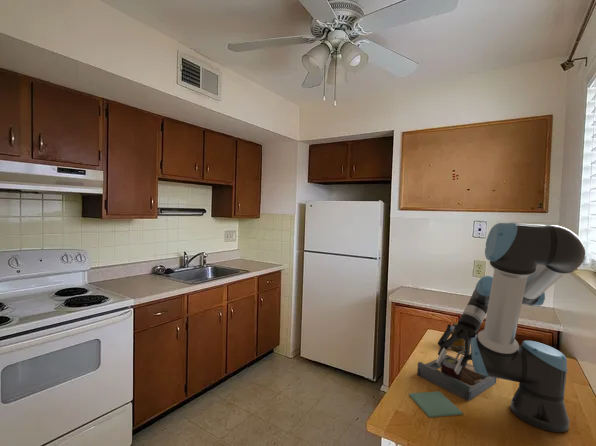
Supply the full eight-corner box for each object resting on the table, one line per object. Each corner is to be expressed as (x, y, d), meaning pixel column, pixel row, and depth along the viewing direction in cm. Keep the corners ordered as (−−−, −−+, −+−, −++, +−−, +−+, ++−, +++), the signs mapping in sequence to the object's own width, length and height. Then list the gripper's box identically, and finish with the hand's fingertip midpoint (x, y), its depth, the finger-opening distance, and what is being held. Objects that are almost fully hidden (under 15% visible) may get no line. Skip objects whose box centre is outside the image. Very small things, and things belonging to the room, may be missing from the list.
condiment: (453, 344, 158) (455, 321, 157) (471, 351, 151) (473, 326, 151) (446, 348, 153) (448, 324, 153) (464, 355, 147) (466, 329, 146)
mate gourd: (441, 374, 128) (444, 337, 127) (463, 380, 124) (467, 343, 123) (439, 382, 122) (442, 344, 121) (462, 389, 118) (465, 350, 117)
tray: (496, 383, 123) (497, 370, 123) (468, 401, 110) (469, 387, 110) (446, 361, 139) (447, 350, 139) (417, 374, 126) (418, 362, 126)
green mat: (462, 414, 103) (462, 412, 103) (429, 417, 100) (429, 415, 100) (439, 392, 115) (439, 391, 114) (409, 395, 112) (409, 393, 112)
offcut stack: (483, 384, 122) (484, 372, 122) (474, 386, 121) (475, 373, 121) (453, 366, 135) (453, 355, 135) (445, 368, 134) (446, 357, 134)
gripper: (499, 332, 123) (476, 385, 115) (451, 316, 139) (426, 362, 130) (495, 321, 120) (470, 375, 111) (445, 306, 136) (420, 352, 127)
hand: (446, 368), depth 121 cm, fingers closed on mate gourd, 6 cm apart
